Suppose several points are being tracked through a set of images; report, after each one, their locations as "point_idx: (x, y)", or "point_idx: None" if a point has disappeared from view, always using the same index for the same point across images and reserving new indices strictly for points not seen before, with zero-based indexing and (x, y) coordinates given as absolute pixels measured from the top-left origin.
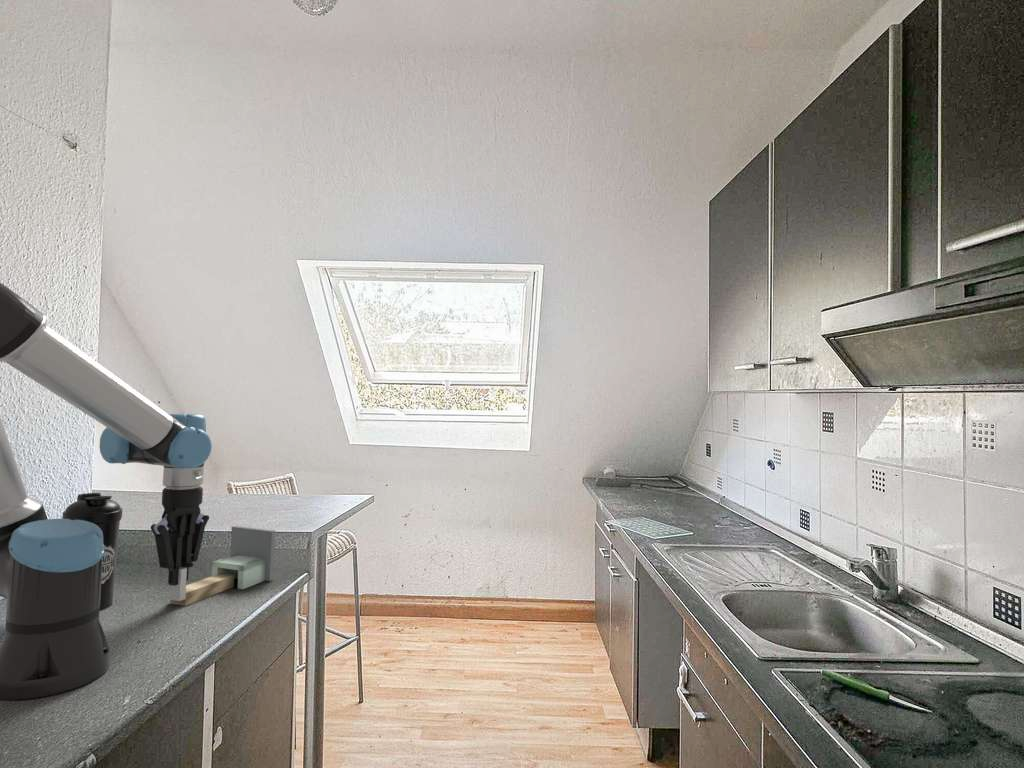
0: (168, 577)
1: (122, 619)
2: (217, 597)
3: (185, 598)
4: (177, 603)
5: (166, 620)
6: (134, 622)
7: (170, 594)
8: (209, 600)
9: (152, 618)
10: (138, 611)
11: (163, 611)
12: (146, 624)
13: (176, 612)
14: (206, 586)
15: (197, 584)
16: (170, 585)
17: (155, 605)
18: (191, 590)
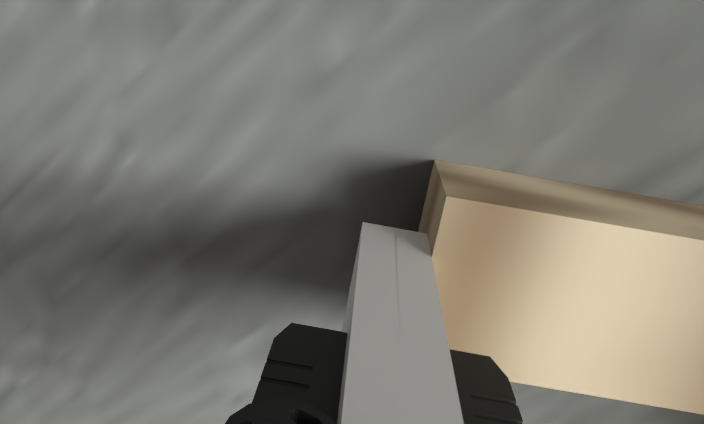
0: (259, 384)
1: (11, 51)
2: (618, 406)
3: None
4: None
5: (123, 353)
6: (9, 185)
7: (358, 251)
8: (544, 390)
9: (116, 250)
10: (196, 40)
11: (256, 231)
12: (19, 284)
13: (265, 326)
14: (650, 400)
15: (688, 318)
16: (354, 290)
17: (362, 75)
18: None
